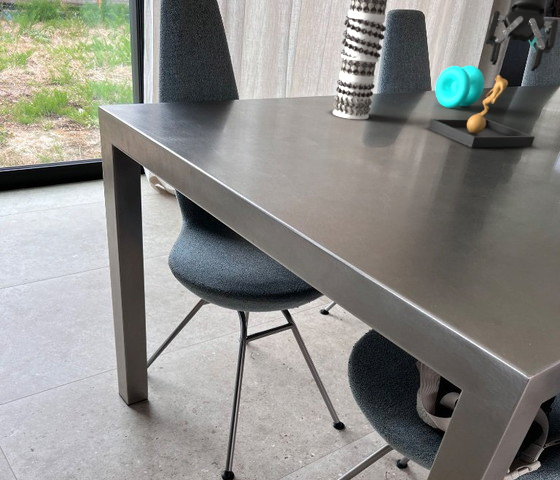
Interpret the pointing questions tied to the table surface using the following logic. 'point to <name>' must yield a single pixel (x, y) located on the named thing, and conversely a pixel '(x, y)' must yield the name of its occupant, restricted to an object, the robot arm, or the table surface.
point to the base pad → (481, 134)
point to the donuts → (459, 86)
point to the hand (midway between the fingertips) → (513, 66)
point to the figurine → (486, 107)
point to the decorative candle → (359, 58)
